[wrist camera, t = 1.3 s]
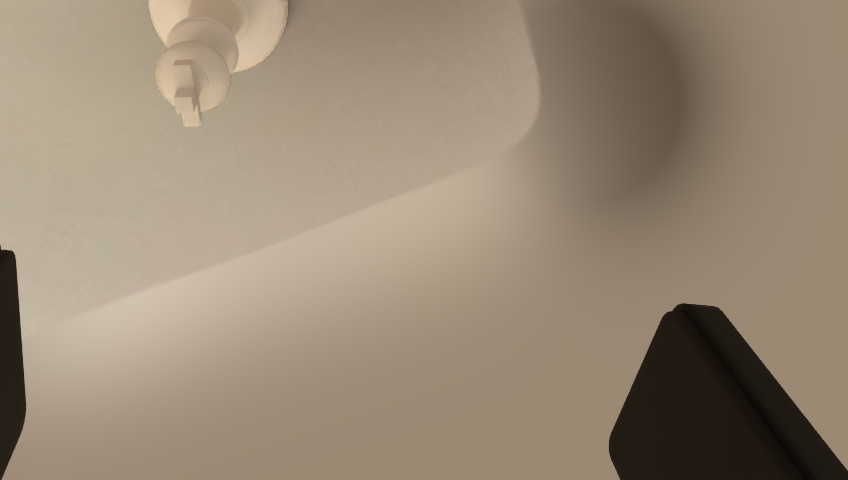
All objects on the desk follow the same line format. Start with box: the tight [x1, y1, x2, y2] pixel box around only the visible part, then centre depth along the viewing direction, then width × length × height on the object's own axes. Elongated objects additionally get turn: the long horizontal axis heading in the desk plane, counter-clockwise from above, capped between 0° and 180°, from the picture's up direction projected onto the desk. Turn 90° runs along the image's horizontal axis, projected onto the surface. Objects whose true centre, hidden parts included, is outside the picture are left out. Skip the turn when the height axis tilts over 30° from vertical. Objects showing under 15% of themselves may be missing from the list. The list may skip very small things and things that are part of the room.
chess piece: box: [148, 0, 288, 127], centre depth 24 cm, size 5×5×10 cm
